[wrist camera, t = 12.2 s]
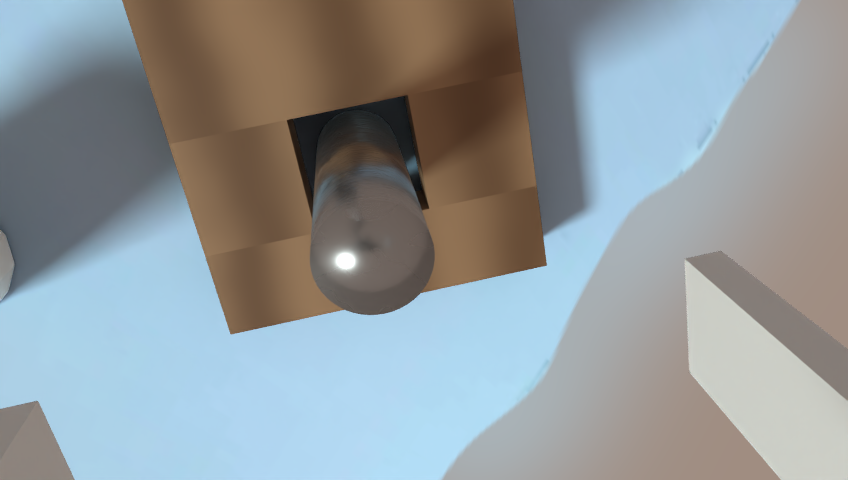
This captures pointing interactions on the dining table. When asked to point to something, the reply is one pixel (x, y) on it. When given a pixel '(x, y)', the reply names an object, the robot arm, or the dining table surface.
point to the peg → (366, 218)
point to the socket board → (326, 91)
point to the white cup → (5, 265)
